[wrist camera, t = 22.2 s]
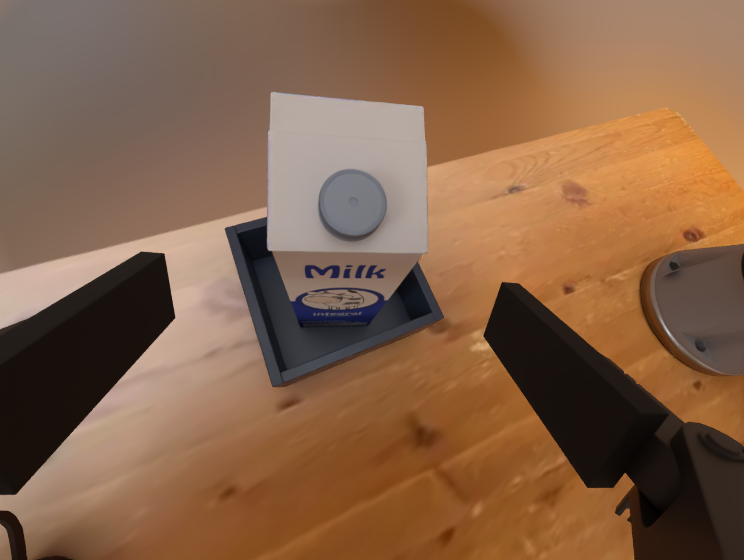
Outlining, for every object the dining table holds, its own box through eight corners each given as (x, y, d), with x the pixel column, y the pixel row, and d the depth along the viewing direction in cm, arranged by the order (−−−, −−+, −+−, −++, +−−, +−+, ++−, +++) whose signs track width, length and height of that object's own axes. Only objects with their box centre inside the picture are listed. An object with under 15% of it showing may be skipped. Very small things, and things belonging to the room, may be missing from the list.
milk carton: (367, 263, 33) (426, 102, 14) (370, 325, 31) (445, 232, 12) (299, 262, 32) (267, 87, 13) (298, 327, 30) (256, 227, 11)
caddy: (372, 221, 35) (382, 186, 29) (420, 330, 32) (444, 317, 26) (243, 258, 32) (224, 227, 25) (283, 387, 28) (272, 387, 22)
